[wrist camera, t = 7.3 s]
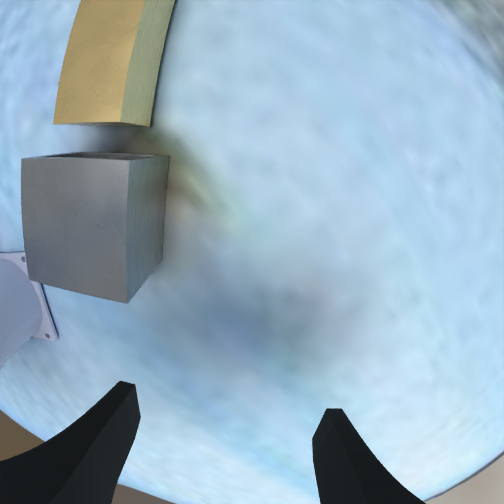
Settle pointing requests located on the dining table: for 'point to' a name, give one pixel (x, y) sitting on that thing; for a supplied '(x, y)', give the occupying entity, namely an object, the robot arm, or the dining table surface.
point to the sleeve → (94, 220)
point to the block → (112, 63)
